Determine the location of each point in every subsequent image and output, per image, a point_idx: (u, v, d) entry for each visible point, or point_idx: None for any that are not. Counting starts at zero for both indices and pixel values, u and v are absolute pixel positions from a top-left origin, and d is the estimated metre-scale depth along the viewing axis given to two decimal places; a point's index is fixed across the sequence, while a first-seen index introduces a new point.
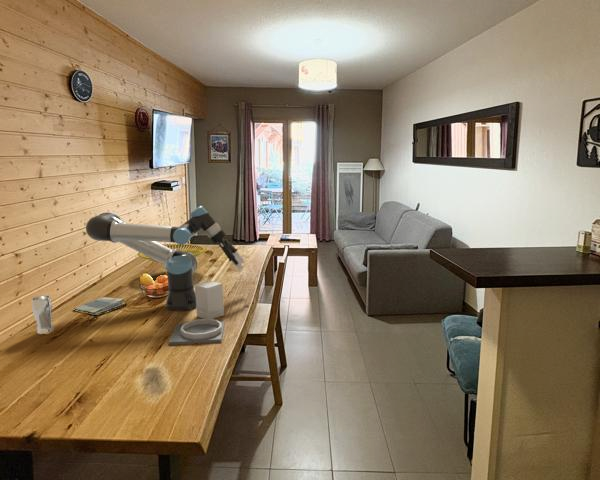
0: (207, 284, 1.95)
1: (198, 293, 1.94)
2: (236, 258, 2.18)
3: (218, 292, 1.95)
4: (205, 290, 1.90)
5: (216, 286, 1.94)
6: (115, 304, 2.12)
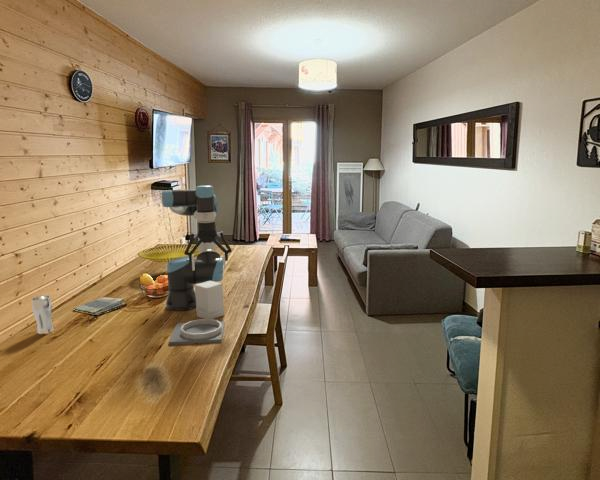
0: (207, 284, 1.95)
1: (198, 293, 1.94)
2: (192, 257, 1.92)
3: (218, 292, 1.95)
4: (205, 290, 1.90)
5: (216, 286, 1.94)
6: (115, 304, 2.12)
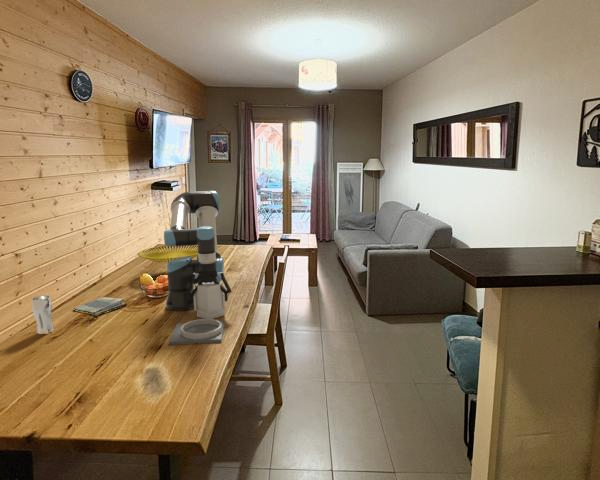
0: (207, 284, 1.95)
1: (198, 293, 1.94)
2: (194, 298, 1.95)
3: (218, 292, 1.95)
4: (206, 290, 1.90)
5: (216, 286, 1.94)
6: (115, 304, 2.12)
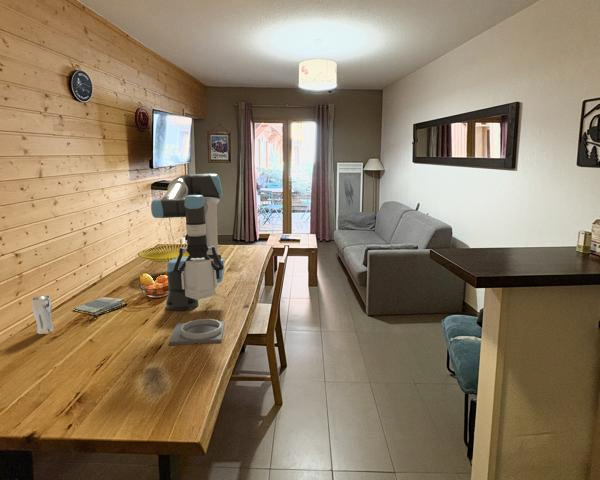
0: (197, 259, 1.74)
1: (187, 269, 1.73)
2: (181, 275, 1.74)
3: (209, 268, 1.74)
4: (194, 266, 1.70)
5: (206, 261, 1.73)
6: (115, 304, 2.12)
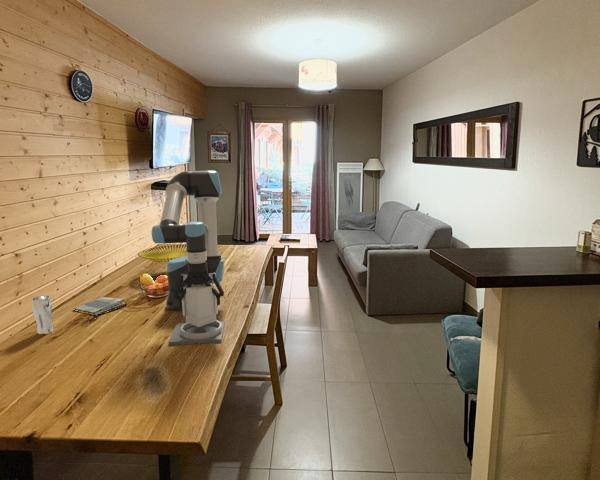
0: (197, 286, 1.75)
1: (187, 296, 1.73)
2: (182, 301, 1.74)
3: (209, 295, 1.74)
4: (195, 293, 1.70)
5: (207, 288, 1.73)
6: (115, 304, 2.12)
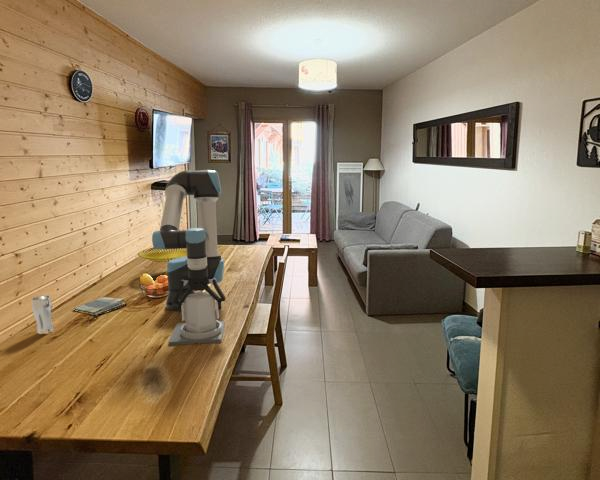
0: (198, 295, 1.75)
1: (188, 306, 1.74)
2: (181, 307, 1.75)
3: (209, 304, 1.75)
4: (195, 303, 1.71)
5: (207, 298, 1.74)
6: (115, 304, 2.12)
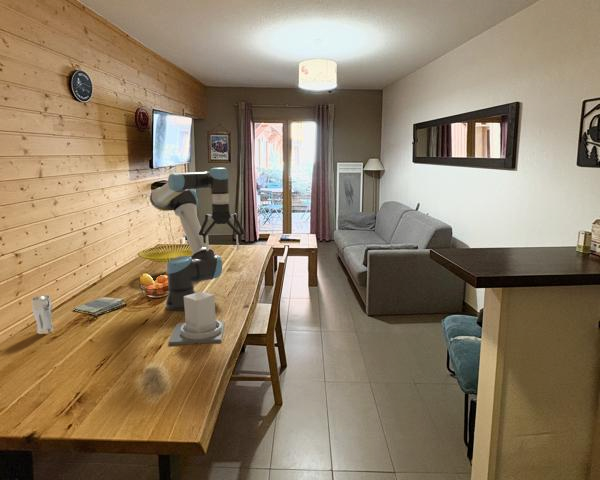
0: (198, 295, 1.75)
1: (188, 306, 1.74)
2: (206, 238, 1.97)
3: (209, 304, 1.75)
4: (195, 303, 1.71)
5: (207, 298, 1.74)
6: (115, 304, 2.12)
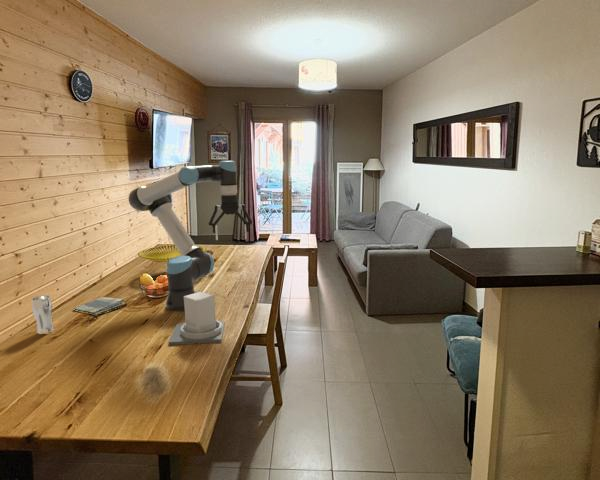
0: (198, 295, 1.75)
1: (188, 306, 1.74)
2: (215, 228, 2.06)
3: (209, 304, 1.75)
4: (195, 303, 1.71)
5: (207, 298, 1.74)
6: (115, 304, 2.12)
